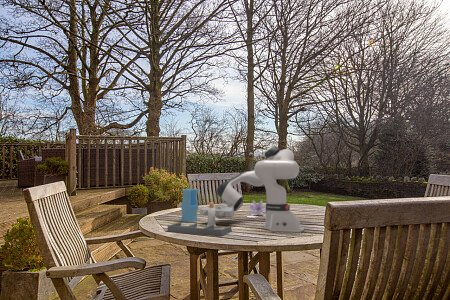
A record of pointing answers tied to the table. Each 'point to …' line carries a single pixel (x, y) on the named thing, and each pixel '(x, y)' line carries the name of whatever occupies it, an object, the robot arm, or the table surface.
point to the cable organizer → (199, 229)
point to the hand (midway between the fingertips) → (211, 214)
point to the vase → (189, 205)
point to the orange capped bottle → (211, 215)
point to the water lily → (257, 208)
